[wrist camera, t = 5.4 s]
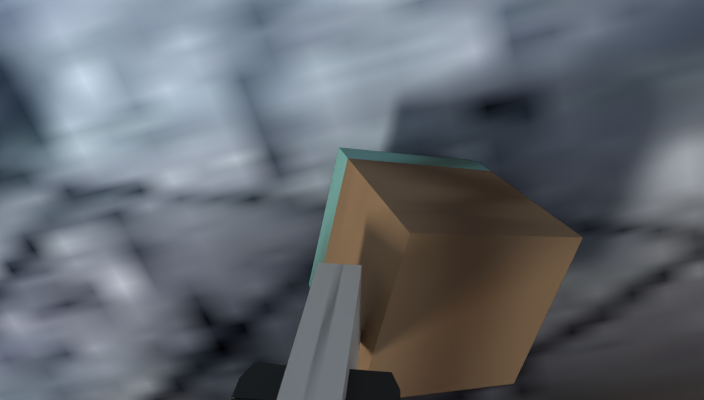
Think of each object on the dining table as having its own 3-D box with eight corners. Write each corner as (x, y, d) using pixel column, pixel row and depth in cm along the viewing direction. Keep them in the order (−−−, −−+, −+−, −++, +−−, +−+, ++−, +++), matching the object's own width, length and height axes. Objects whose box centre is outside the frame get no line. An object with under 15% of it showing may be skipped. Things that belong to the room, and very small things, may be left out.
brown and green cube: (476, 160, 20) (583, 237, 15) (434, 282, 22) (513, 383, 17) (338, 147, 17) (409, 233, 12) (308, 285, 20) (358, 402, 15)
